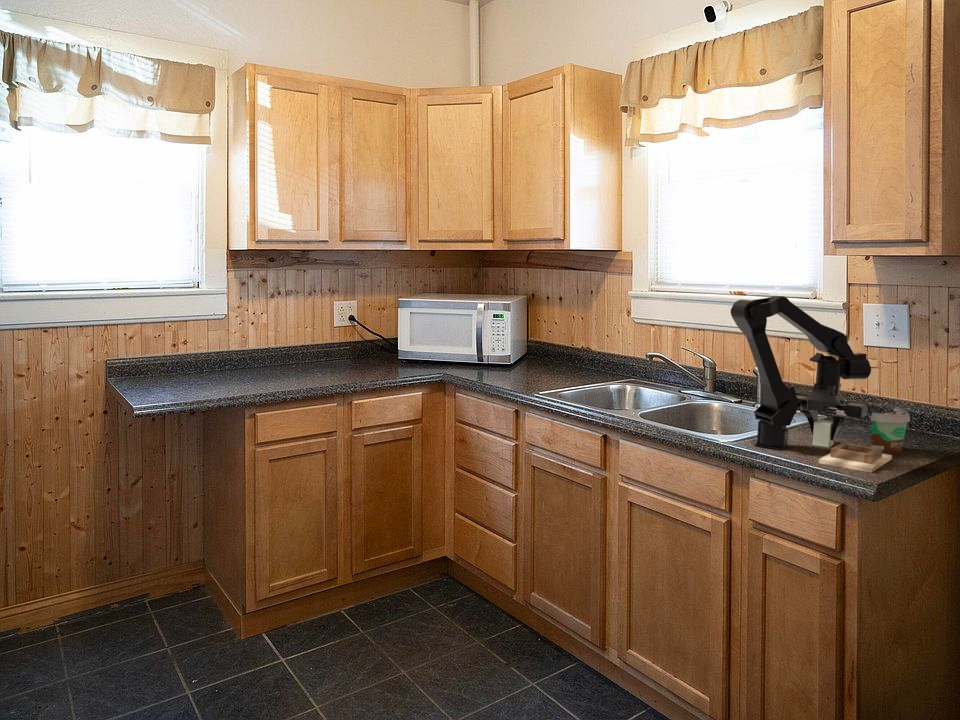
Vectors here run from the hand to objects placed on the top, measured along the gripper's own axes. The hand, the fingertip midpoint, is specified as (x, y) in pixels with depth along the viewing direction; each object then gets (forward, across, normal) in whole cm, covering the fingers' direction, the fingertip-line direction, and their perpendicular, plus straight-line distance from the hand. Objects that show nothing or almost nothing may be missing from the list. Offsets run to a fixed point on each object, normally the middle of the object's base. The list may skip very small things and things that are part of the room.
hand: (823, 438), depth 203 cm
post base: (+2, +12, -12) cm, 17 cm away
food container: (+2, +15, +6) cm, 16 cm away
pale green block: (+2, 0, 0) cm, 2 cm away
